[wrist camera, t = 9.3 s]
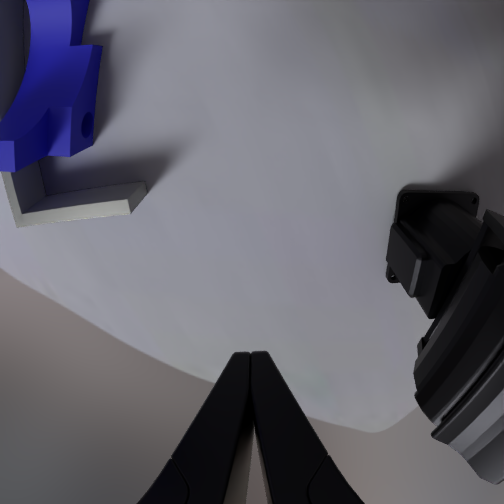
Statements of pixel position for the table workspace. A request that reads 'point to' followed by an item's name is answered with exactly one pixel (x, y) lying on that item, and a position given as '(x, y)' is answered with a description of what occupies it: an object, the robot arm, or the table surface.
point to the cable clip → (53, 88)
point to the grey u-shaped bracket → (29, 178)
